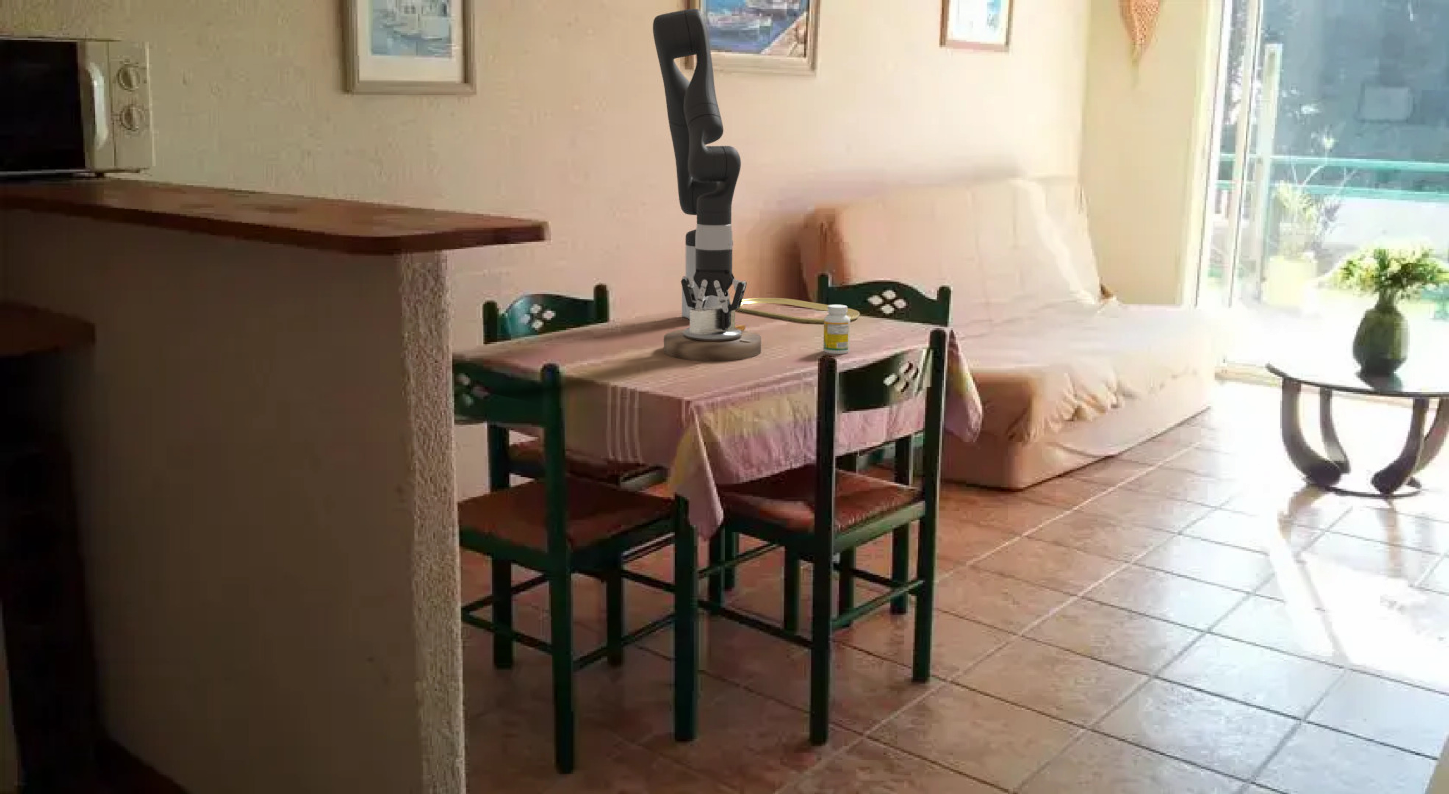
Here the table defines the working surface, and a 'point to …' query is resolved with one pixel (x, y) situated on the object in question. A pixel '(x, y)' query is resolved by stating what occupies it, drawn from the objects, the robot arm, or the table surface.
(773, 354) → the table surface
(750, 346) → the base
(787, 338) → the table surface
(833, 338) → the supplement bottle
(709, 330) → the butter block on plate
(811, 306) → the gold oval frame
